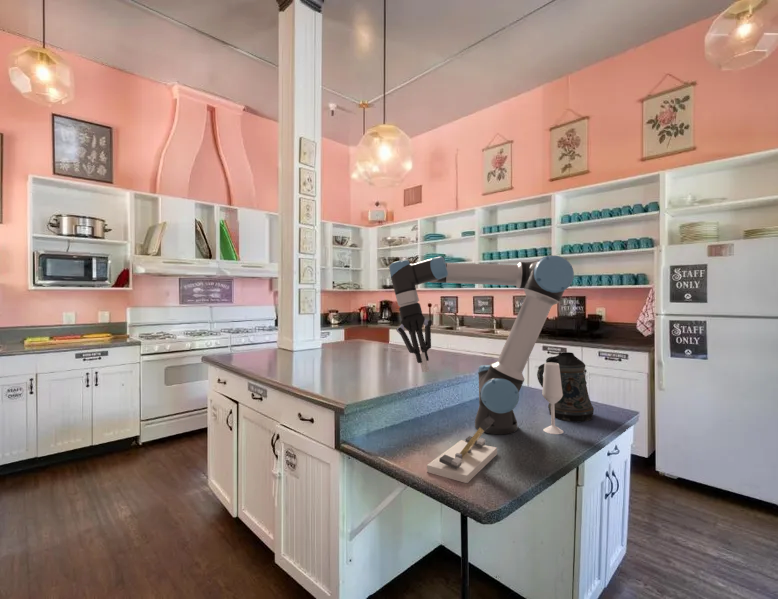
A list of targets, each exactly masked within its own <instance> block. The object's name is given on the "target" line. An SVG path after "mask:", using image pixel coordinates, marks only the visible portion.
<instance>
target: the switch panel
mask: <svg viewBox="0 0 778 599" xmlns="http://www.w3.org/2000/svg"><path fill="white" fill-rule="evenodd" d="M465 441H466V440H462V439H460V440H459V441H457V443H454V444H453V445H452V446H451V447H450V448H448V449H447V450H445V451H444V452H442V453H441V454H439V455H438V456H437V457H436V458H434V459H433V460H432V461H430V462H429V463H428V464H426V472H427V473H429V474H433V475H437V476H440V477H442V478H446V479H450V480H453V481H457V482H462V483H464V484H468V483H469V482H471V480H472V479H473V478H474V477H476V475H477V474H478V473H479V472H480V471H481V470H482V469H484V468H485V467H486V465H488V464H489V463H490V462H491V461H492V460H493V459H494V458H495V457H496V456H497V455H498V447H495V446H490V445H486V444H485V445H484V446H483V447H482V448H479V447H477V446H474V445H473V447H472V448H471V449H470V450H469V452H468V453H467V454H466V455H464V456H463V457H462V454H460V452H461V451H462V450H463V448H464V447H465V446H466V445H467V442H465ZM444 455H447V456H450V457H452V458H454V459H455V458H456V457H458V458H461V459H462V463H461V466H460V467H459V468H457V469H454V468H452V467H450V466H448V465H446V464H443V463H441V462H439V461H440V458H441V457H442V456H444Z"/></svg>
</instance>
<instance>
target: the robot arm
mask: <svg viewBox="0 0 778 599" xmlns="http://www.w3.org/2000/svg"><path fill="white" fill-rule="evenodd" d="M388 269H389V275H390V279H391V283H392V287H393V290H394V294H395V298H396V302H397V306H398V307H399V308H398V311H399V313H400V318H401V322H400V326H398V327H397V328H396V330H395V331H396V332H397V333H398V334H399V335H400V336H401V338H402V341H403V342H404V344H405V346H406V349H407V350H408V352H409V354H414V355H415V358H416V361H417V362H416V363H418V364H420V369H421V372H422V373H428V372H430V369H429V366H428V362H429V360H430V359H429V355H428V351H429V349H430V350H431V349H432V335H431V334H432V332H431V330H432V329H431V326H432V324H433V321H432V320H431V319H430V320H429V319H427V318H425V316H424V315H423V310H422V307H421V304H420V303H419V301H420V298H419V295H418V292H417V291H418V290H417V288H416V286H417V285H418V286H419V285H421V284H426V283H431V284H432V283H433V284H435V283H438V284H440V283H441V284H442V283H443V284H446V283H447V284H469V285H490V286H491V285H493V286H514V287H517V289H520V290H523V291H524V294H525V298H524V299H523V302H522V304H521V306H520V309H519V311H518V313H517V316H516V317H515V320H514V322H513V325H512V326H511V329H510V330H509V331H510V332H509V335H508V336H507V338H506V340H505V343H504V345H503V348H502V350H501V353H500V355H499V356H498V359H497V361H496V362H493V363H490V364H481V365H479V366H478V371H477V375H478V401H479V402H478V409H477V412H476V415H475V418H474V427H475V429H477V430H478V429H479V428H480V427H479V425H480V424H481V422H482V421H483V420H484V419H485V418H487V417H488V416H490V417H491V418H492V419H494V420H495V421H494V423H493V424H492V425H491V426H490V427H489V428H488V429H487V430H485V431H484V433H485V434H492V435H493V434H494V435H508V434H513V433H515V432H517V430H518V421H517V418H516V415H515V412H514V409H515V408H516V407H517V405H518V403H519V399H520V390H521V388H522V387H523V384H524V383H525V376H524V375H523V374H524V373H523V372H524V370H525V368H526V365H527V363H528V361H529V359H530V356H531V353H532V351H533V349H534V347H535V345H536V343H537V340H538V338H539V336H540V334H541V331H542V330H543V327H544V326H545V325H544V324H545V323H546V321H547V318H548V316H549V314H550V311H551V310H552V309H551V308H552V307H553V306H554V305H558V304H559V303H560V301H561V299H562V296H563V295H564V292H565V290H567V289H569V287H570V286H571V284H572V283H573V280H574V276H575V272H574V268H573V266H572V264H571V263H570V262H569V260H567V259H566V258H564V257H563V256H560V255H546V256H543V257H541V258H540V259H537V260H534V261H526V262H524V261H519V262H518V263H517V264H507V263H506V264H505V263H504V264H498V263H496V264H495V263H494V264H493V263H468V262H467V263H465V262H464V263H462V262H461V263H458V262H446V261H445V258H444V257H443V256H440V255H439V256H437V257H431V258H428V259H425V260H422V261H419V262H415V263H410V261H409V259H401V260H397V261H394V262H392V263H391V264H390V265H389V268H388ZM423 326H424V334H423ZM405 330H406V331H408V334H409V336H408V334H407V332H406V331H405ZM409 337H410V339H409Z"/></svg>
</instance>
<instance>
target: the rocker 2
mask: <svg viewBox="0 0 778 599" xmlns="http://www.w3.org/2000/svg"><path fill="white" fill-rule="evenodd" d="M472 437H473V436H471V435H469V436H468V437H466V438H465V440H464V441H465V442H467V443H468V442H469V441H470V439H471V438H472ZM484 445H486V438H483V437H480V438H479V439H478V440H477V441H476V443H475V444H474V446H477V447H479V448H482V447H483V446H484Z"/></svg>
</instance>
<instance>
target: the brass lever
mask: <svg viewBox="0 0 778 599" xmlns="http://www.w3.org/2000/svg"><path fill="white" fill-rule="evenodd" d="M494 421H495V420H494V419H492V418H491V417H490V416H488V417H487V418H485V419H484V420H483V421H482V422H481V424H480V425H479V427H480V428H479V429H477V430H476V431H475V433H474V434H473V435H472V436H471V437H472V438H471V439H470V441H469V442H468V443H467V445H466V446H465V447H464V448H463V450H462V451H461V452H460V454H462V457H463V456H464V455H466V454H467V453H468V452H469V450H470V449H471V448H472V447H473V445H474V444H475V443H476V441H477V440H478V439H480V438H481V437H482V435H483V434H484V433H485V432H484V431H485V430H487V429H488V428H489V427H490V426H491V425H492V424H493V423H494Z"/></svg>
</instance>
